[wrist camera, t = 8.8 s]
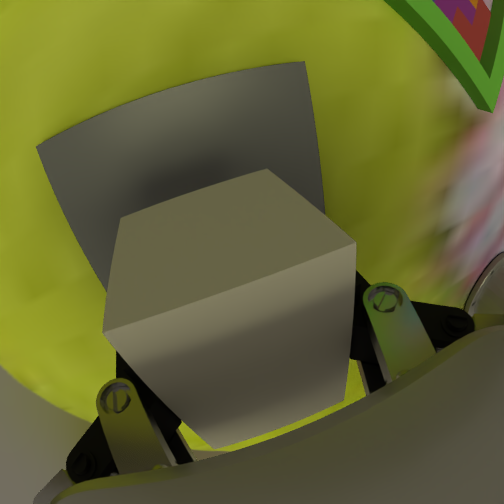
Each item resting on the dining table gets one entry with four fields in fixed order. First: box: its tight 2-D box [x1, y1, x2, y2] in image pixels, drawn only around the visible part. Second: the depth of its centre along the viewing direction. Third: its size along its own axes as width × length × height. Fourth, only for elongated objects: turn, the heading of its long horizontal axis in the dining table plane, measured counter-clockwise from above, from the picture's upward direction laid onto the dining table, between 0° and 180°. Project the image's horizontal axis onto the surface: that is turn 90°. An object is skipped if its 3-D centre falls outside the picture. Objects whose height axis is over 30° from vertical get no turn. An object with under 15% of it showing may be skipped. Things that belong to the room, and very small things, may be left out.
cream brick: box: [102, 169, 356, 449], centre depth 9 cm, size 5×7×5 cm
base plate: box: [36, 61, 325, 291], centre depth 16 cm, size 14×14×1 cm
